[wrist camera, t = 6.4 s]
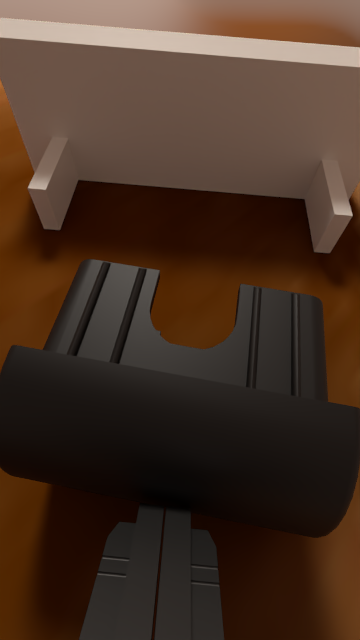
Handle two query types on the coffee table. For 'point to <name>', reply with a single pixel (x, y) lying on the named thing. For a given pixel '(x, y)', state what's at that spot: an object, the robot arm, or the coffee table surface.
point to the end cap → (183, 407)
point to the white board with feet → (185, 115)
